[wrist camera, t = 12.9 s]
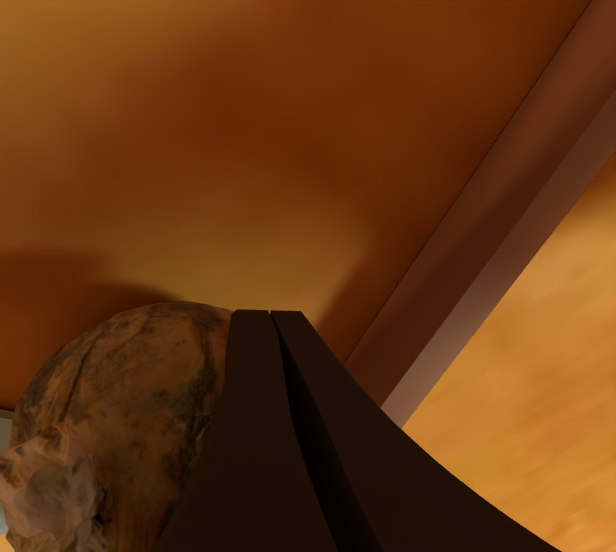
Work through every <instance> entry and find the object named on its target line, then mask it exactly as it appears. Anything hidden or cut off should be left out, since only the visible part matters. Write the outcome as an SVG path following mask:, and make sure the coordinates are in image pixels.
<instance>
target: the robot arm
mask: <svg viewBox="0 0 616 552" xmlns="http://www.w3.org/2000/svg"><path fill="white" fill-rule="evenodd" d="M153 552H561V551H560V550H558V549H556V548H555V547H553V546H552V545H550V544H548V543H547V542H545V541H544V540H542V539H541V538H539V537H538V536H536V535H535V534H533V533H532V532H530V531H529V530H527V529H526V528H524V527H523V526H522V525H520V524H519V523H517V522H516V521H514V520H513V519H511V518H510V517H508V516H507V515H505V514H504V513H503V512H501V511H500V510H498V509H497V508H496V507H494V506H493V505H491V504H490V503H489V502H487V501H486V500H485V499H483V498H482V497H481V496H479V495H478V494H477V493H476V492H474V491H473V490H472V489H470V488H469V487H468V486H467V485H465V484H464V483H463V482H461V481H460V480H459V479H458V478H456V477H455V476H454V475H452V474H451V473H450V472H449V471H448V470H446V469H445V468H444V467H443V466H442V465H440V464H439V463H438V462H437V461H436V460H434V459H433V458H432V457H431V456H430V455H429V454H428V453H427V452H426V451H424V450H423V449H422V448H421V447H420V446H419V445H418V444H417V443H416V442H414V441H413V440H412V439H411V438H410V437H409V436H408V435H407V434H406V433H405V432H404V431H403V430H401V429H400V428H399V427H398V426H397V425H396V424H395V423H394V422H393V421H392V420H391V419H390V418H389V417H388V415H387V414H386V413H385V412H384V411H383V410H382V409H381V408H380V407H379V406H378V405H377V404H376V403H375V402H374V401H373V400H372V398H371V397H370V396H369V395H368V394H367V393H366V392H365V391H364V390H363V388H362V387H361V386H360V385H359V384H358V382H357V381H356V380H355V379H354V378H353V377H352V375H351V374H350V373H349V372H348V371H347V369H346V368H345V367H344V366H343V365H342V363H341V362H340V361H339V360H338V359H337V357H336V356H335V355H334V353H333V352H332V351H331V350H330V348H329V347H328V346H327V345H326V343H325V342H324V341H323V339H322V338H321V337H320V335H319V334H318V333H317V331H316V330H315V329H314V328H313V326H312V325H311V324H310V322H309V321H308V320H307V318H306V317H305V316H304V315H303V313H302V312H301V311H273V310H271V313H270V314H269V312H268V310H236V311H235V312H233V313H232V314H231V317H230V325H229V332H228V340H227V347H226V355H225V382H224V386H223V390H222V393H221V396H220V399H219V402H218V405H217V409H216V412H215V415H214V418H213V421H212V424H211V427H210V429H209V432H208V435H207V437H206V440H205V443H204V445H203V448H202V450H201V453H200V455H199V457H198V460H197V462H196V465H195V467H194V469H193V472H192V474H191V476H190V478H189V480H188V482H187V485H186V487H185V489H184V491H183V493H182V496H181V498H180V500H179V502H178V504H177V506H176V508H175V510H174V512H173V514H172V516H171V518H170V520H169V522H168V524H167V526H166V528H165V530H164V531H163V533H162V535H161V537H160V539H159V541H158V543H157V544H156V546H155V548H154V550H153Z"/></svg>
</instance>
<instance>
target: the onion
mask: <svg viewBox="0 0 616 552" xmlns="http://www.w3.org/2000/svg"><path fill="white" fill-rule="evenodd" d="M232 313H233V311H230V310H227V309H224V308H219V307H214V306H211V305H207V304H201V303H194V302H188V301H179V302H161V303H156V304H151V305H146V306H141V307H137V308H134V309H130V310H127V311H123V312H120V313H118V314H116V315H114V316H113V317H111V318H109V319H107V320H106V321H104V322H102V323H100V324H99V325H97V326H95V327H93V328H92V329H90V330H88V331H86V332H85V333H83V334H81V335H80V336H78V337H76V338H75V339H73V340H71V341H70V342H68V343H67V344H65V345H64V346H63V347H61V348H60V349H59V350H57V351H56V352H55V353H54V354H52V355H51V356H50V357H49V358H48V359H47V361H46V362H45V363H44V364H43V366H42V367H41V368H40V370H39V371H38V373H37V374H36V376H35V377H34V378H33V380H32V381H31V383H30V384H29V386H28V387H27V389H26V390H25V392H24V393H23V395H22V397H21V398H20V400H19V401H18V403H17V405H16V407H15V409H14V414H13V419H12V425H11V431H10V437H9V442H8V446H7V450H6V451H3V452H1V453H0V503H1V504H2V505H3V509H4V515H5V521H6V524H7V527H8V532H7V535H6V539H7V540H8V542H9V543H10V544H11V546H12V547H13V548H14V550H15V552H153V550H154V548H155V546H156V544H157V543H158V541H159V539H160V537H161V535H162V533H163V531H164V530H165V528H166V526H167V524H168V522H169V520H170V518H171V516H172V514H173V512H174V510H175V508H176V506H177V504H178V502H179V500H180V498H181V496H182V493H183V491H184V489H185V487H186V485H187V482H188V480H189V478H190V476H191V474H192V472H193V469H194V467H195V465H196V462H197V460H198V457H199V455H200V453H201V450H202V448H203V445H204V443H205V440H206V437H207V435H208V432H209V429H210V427H211V424H212V421H213V418H214V415H215V412H216V409H217V405H218V402H219V399H220V396H221V393H222V390H223V386H224V382H225V355H226V347H227V340H228V332H229V325H230V317H231V314H232Z"/></svg>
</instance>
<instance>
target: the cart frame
mask: <svg viewBox="0 0 616 552" xmlns="http://www.w3.org/2000/svg"><path fill="white" fill-rule="evenodd" d="M615 151H616V0H592V1H591V2H590V4H589V5H588V7H587V8H586V10H585V11H584V13H583V14H582V16H581V17H580V19H579V20H578V21H577V23H576V24H575V26H574V27H573V29H572V30H571V32H570V33H569V35H568V36H567V38H566V39H565V41H564V42H563V43H562V45H561V46H560V48H559V49H558V51H557V52H556V54H555V55H554V57H553V58H552V60H551V61H550V63H549V64H548V65H547V67H546V68H545V70H544V71H543V73H542V74H541V76H540V77H539V79H538V80H537V82H536V83H535V85H534V86H533V87H532V89H531V90H530V92H529V93H528V95H527V96H526V98H525V99H524V101H523V102H522V104H521V105H520V107H519V108H518V109H517V111H516V112H515V114H514V115H513V117H512V118H511V120H510V121H509V123H508V124H507V126H506V127H505V129H504V130H503V131H502V133H501V134H500V136H499V137H498V139H497V140H496V142H495V143H494V145H493V146H492V148H491V149H490V151H489V152H488V153H487V155H486V156H485V158H484V159H483V161H482V162H481V164H480V165H479V167H478V168H477V170H476V171H475V173H474V174H473V175H472V177H471V178H470V180H469V181H468V183H467V184H466V186H465V187H464V189H463V190H462V192H461V193H460V195H459V196H458V197H457V199H456V200H455V202H454V203H453V205H452V206H451V208H450V209H449V211H448V212H447V214H446V215H445V217H444V218H443V219H442V221H441V222H440V224H439V225H438V227H437V228H436V230H435V231H434V233H433V234H432V236H431V237H430V239H429V240H428V241H427V243H426V244H425V246H424V247H423V249H422V250H421V252H420V253H419V255H418V256H417V258H416V259H415V261H414V262H413V263H412V265H411V266H410V268H409V269H408V271H407V272H406V274H405V275H404V277H403V278H402V280H401V281H400V283H399V284H398V285H397V287H396V288H395V290H394V291H393V293H392V294H391V296H390V297H389V299H388V300H387V302H386V303H385V304H384V306H383V307H382V309H381V310H380V312H379V313H378V315H377V316H376V318H375V319H374V321H373V322H372V324H371V325H370V326H369V328H368V329H367V331H366V332H365V334H364V335H363V337H362V338H361V340H360V341H359V343H358V344H357V346H356V347H355V348H354V350H353V351H352V353H351V354H350V356H349V357H348V359H347V360H346V362H345V363H344V365H343V366H344V367H345V368H346V369H347V371H348V372H349V373H350V374H351V375H352V377H353V378H354V379H355V380H356V381H357V382H358V384H359V385H360V386H361V387H362V388H363V390H364V391H365V392H366V393H367V394H368V395H369V396H370V397H371V398H372V400H373V401H374V402H375V403H376V404H377V405H378V406H379V407H380V408H381V409H382V410H383V411H384V412H385V413H386V414H387V415H388V417H389V418H390V419H391V420H392V421H393V422H394V423H395V424H396V425H397V426H398V427H399V428H400V429H401V428H402V427H403V426H404V424H405V423H406V422H407V420H408V419H409V418H410V417H411V415H412V414H413V413H414V411H415V410H416V409H417V407H418V406H419V405H420V404H421V402H422V401H423V400H424V398H425V397H426V396H427V394H428V393H429V392H430V391H431V389H432V388H433V387H434V385H435V384H436V383H437V382H438V380H439V379H440V378H441V376H442V375H443V374H444V372H445V371H446V370H447V369H448V367H449V366H450V365H451V363H452V362H453V361H454V359H455V358H456V357H457V356H458V354H459V353H460V352H461V350H462V349H463V348H464V347H465V345H466V344H467V343H468V341H469V340H470V339H471V337H472V336H473V335H474V334H475V332H476V331H477V330H478V328H479V327H480V326H481V324H482V323H483V322H484V321H485V319H486V318H487V317H488V315H489V314H490V313H491V312H492V310H493V309H494V308H495V306H496V305H497V304H498V302H499V301H500V300H501V299H502V297H503V296H504V295H505V293H506V292H507V291H508V289H509V288H510V287H511V286H512V284H513V283H514V282H515V280H516V279H517V278H518V277H519V275H520V274H521V273H522V271H523V270H524V269H525V267H526V266H527V265H528V264H529V262H530V261H531V260H532V258H533V257H534V256H535V254H536V253H537V252H538V251H539V249H540V248H541V247H542V245H543V244H544V243H545V241H546V240H547V239H548V238H549V236H550V235H551V234H552V232H553V231H554V230H555V229H556V227H557V226H558V225H559V223H560V222H561V221H562V219H563V218H564V217H565V216H566V214H567V213H568V212H569V210H570V209H571V208H572V206H573V205H574V204H575V203H576V201H577V200H578V199H579V197H580V196H581V195H582V194H583V192H584V191H585V190H586V188H587V187H588V186H589V184H590V183H591V182H592V181H593V179H594V178H595V177H596V175H597V174H598V173H599V171H600V170H601V169H602V168H603V166H604V165H605V164H606V162H607V161H608V160H609V159H610V157H611V156H612V155H613V153H614V152H615Z"/></svg>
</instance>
